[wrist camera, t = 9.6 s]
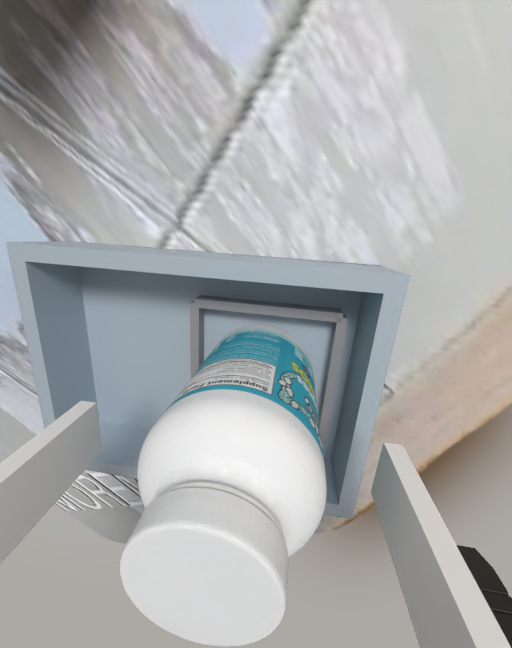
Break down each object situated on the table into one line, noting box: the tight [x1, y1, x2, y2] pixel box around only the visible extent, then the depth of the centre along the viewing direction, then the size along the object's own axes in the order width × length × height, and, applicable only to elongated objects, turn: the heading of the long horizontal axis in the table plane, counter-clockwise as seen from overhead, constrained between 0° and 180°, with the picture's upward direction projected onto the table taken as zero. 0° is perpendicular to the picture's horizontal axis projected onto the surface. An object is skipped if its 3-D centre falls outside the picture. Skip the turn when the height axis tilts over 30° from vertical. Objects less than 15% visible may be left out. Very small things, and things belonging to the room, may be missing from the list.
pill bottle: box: [120, 325, 327, 647], centre depth 14 cm, size 8×7×14 cm
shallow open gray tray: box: [6, 242, 410, 519], centre depth 19 cm, size 22×16×5 cm
